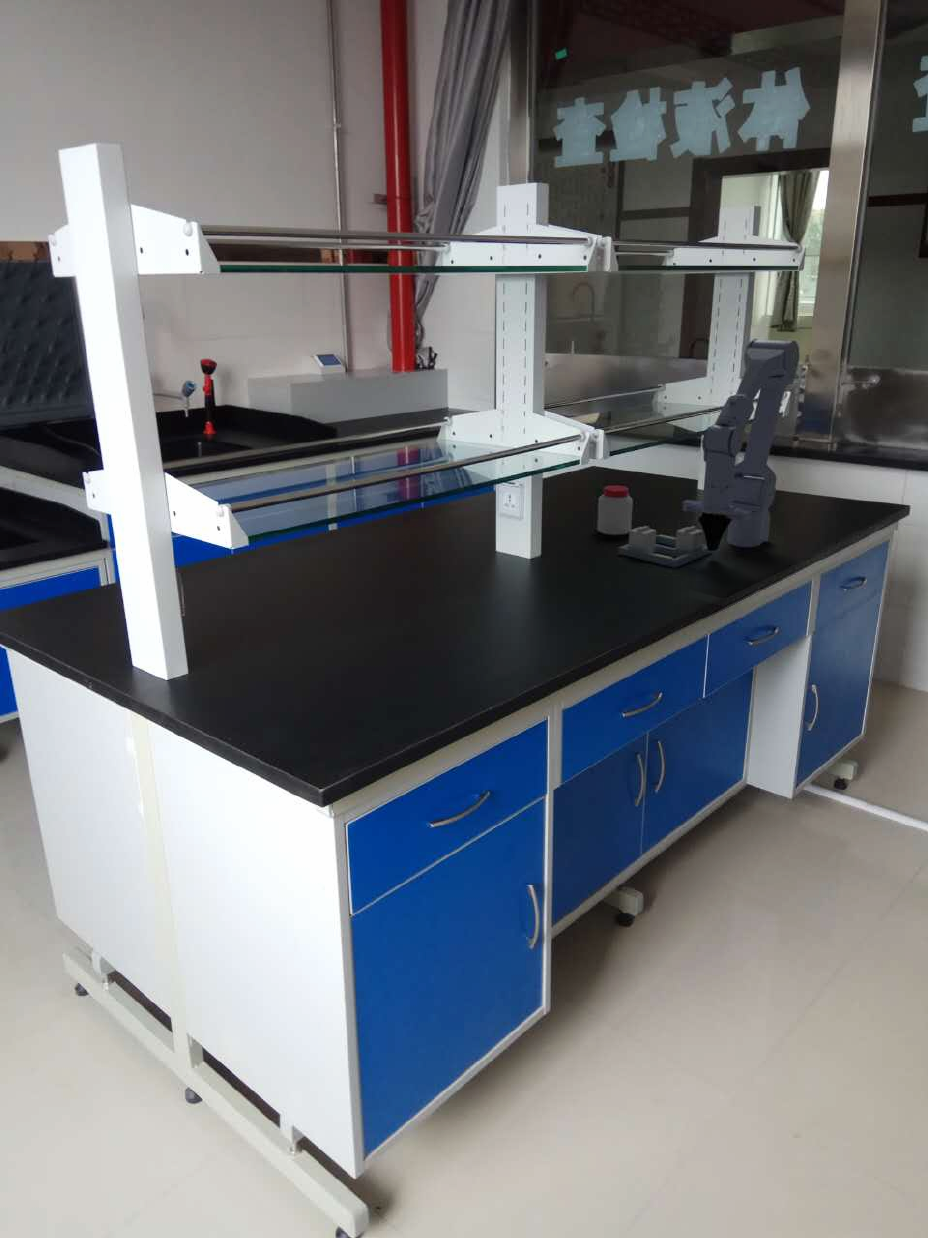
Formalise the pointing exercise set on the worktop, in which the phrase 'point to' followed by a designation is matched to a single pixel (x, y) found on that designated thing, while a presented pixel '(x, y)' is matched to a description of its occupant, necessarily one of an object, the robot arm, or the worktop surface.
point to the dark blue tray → (665, 552)
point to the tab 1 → (642, 539)
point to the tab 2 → (689, 539)
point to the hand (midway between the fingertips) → (712, 549)
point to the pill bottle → (615, 511)
